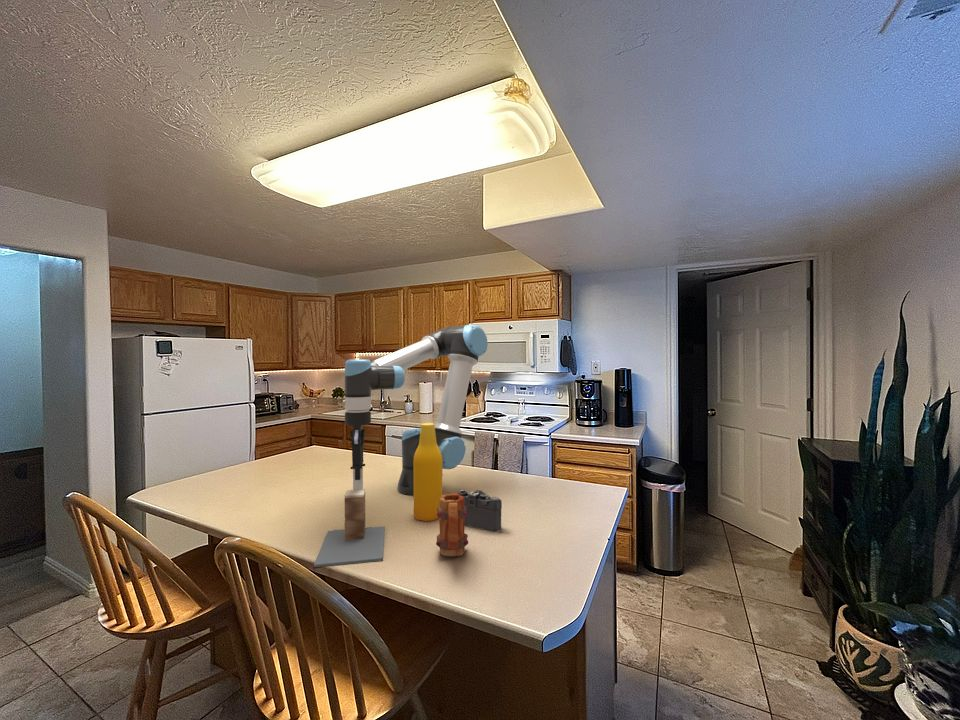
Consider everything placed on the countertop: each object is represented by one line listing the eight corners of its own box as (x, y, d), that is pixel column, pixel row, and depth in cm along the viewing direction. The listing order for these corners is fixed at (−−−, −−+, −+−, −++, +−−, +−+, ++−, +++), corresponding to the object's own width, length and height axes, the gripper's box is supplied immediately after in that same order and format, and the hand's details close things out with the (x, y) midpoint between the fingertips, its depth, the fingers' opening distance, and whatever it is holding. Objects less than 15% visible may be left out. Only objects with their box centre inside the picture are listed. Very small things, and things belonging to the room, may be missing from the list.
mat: (385, 527, 120) (385, 525, 120) (382, 560, 100) (382, 558, 100) (328, 532, 117) (328, 530, 117) (313, 567, 97) (313, 564, 97)
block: (365, 531, 116) (365, 488, 116) (363, 538, 112) (363, 494, 112) (347, 532, 115) (346, 490, 115) (344, 540, 111) (344, 495, 111)
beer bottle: (407, 518, 127) (407, 425, 127) (422, 508, 135) (422, 421, 135) (434, 523, 123) (433, 427, 123) (447, 512, 132) (447, 422, 132)
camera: (511, 520, 126) (511, 487, 126) (496, 533, 116) (496, 498, 116) (470, 512, 132) (470, 481, 132) (453, 524, 122) (453, 491, 122)
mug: (436, 545, 109) (436, 488, 109) (467, 543, 109) (467, 487, 109) (435, 573, 94) (435, 508, 94) (470, 571, 95) (470, 507, 95)
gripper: (347, 408, 128) (347, 484, 128) (341, 413, 115) (341, 497, 115) (372, 408, 130) (372, 482, 129) (369, 413, 117) (369, 495, 117)
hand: (358, 489), depth 122 cm, fingers closed
